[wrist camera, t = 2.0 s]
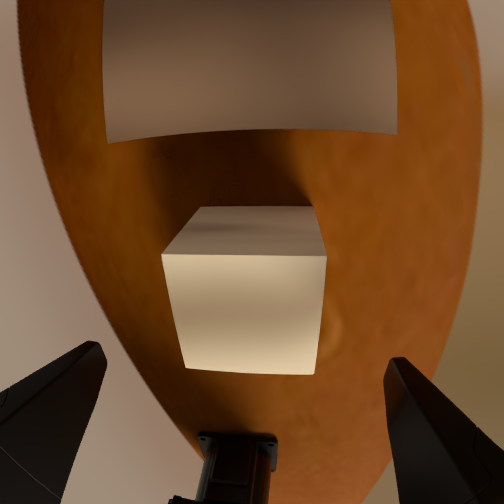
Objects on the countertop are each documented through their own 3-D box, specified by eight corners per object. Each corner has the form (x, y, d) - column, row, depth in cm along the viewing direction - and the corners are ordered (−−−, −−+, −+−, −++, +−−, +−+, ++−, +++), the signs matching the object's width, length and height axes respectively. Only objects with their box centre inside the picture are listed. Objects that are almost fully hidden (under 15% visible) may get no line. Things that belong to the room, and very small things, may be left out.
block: (308, 301, 15) (313, 374, 11) (211, 299, 16) (185, 367, 11) (313, 205, 13) (326, 256, 9) (200, 206, 14) (161, 254, 9)
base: (372, 129, 11) (396, 135, 9) (141, 135, 12) (107, 143, 10) (355, -64, 7) (369, -95, 4) (141, -48, 8) (112, -71, 6)
